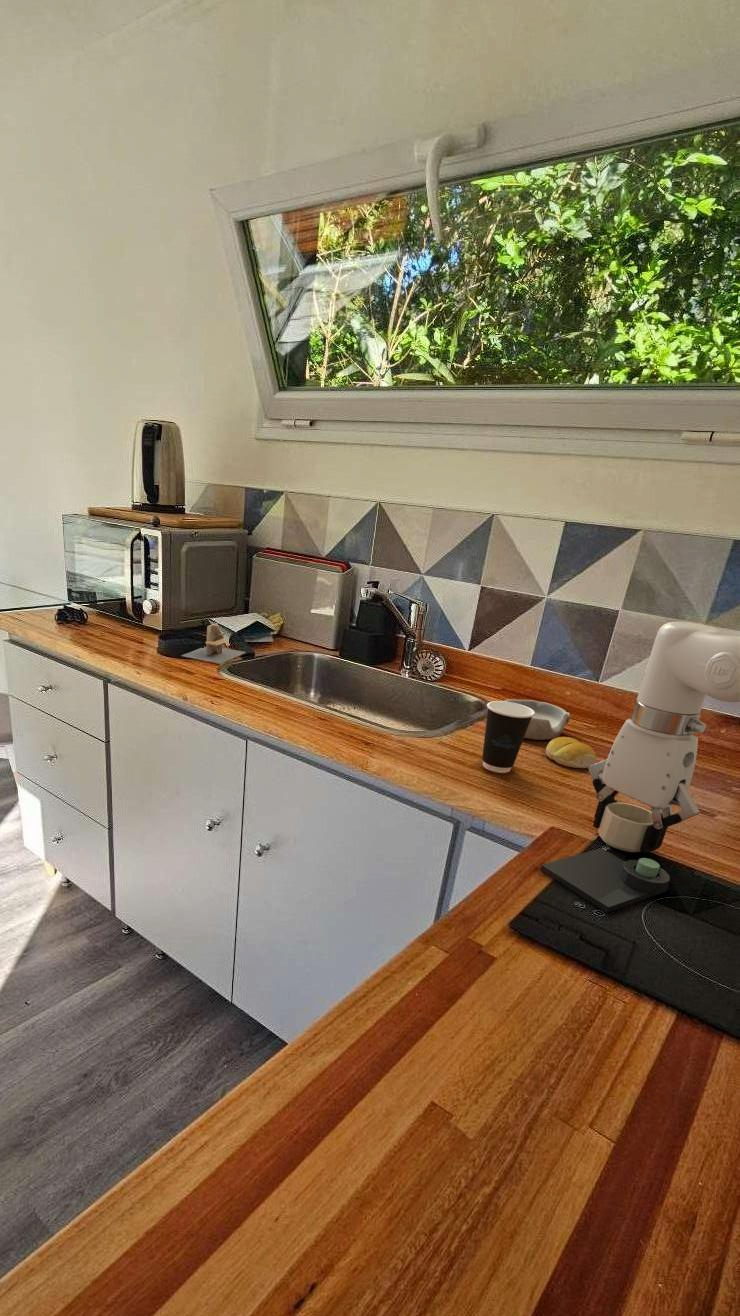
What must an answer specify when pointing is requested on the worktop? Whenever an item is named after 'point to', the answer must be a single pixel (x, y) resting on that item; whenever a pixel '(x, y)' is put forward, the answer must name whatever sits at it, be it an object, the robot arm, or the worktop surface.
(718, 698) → the robot arm
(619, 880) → the scale
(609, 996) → the worktop surface
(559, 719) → the dish
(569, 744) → the bread roll
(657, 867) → the button
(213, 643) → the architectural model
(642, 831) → the bowl
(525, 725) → the dixie cup
